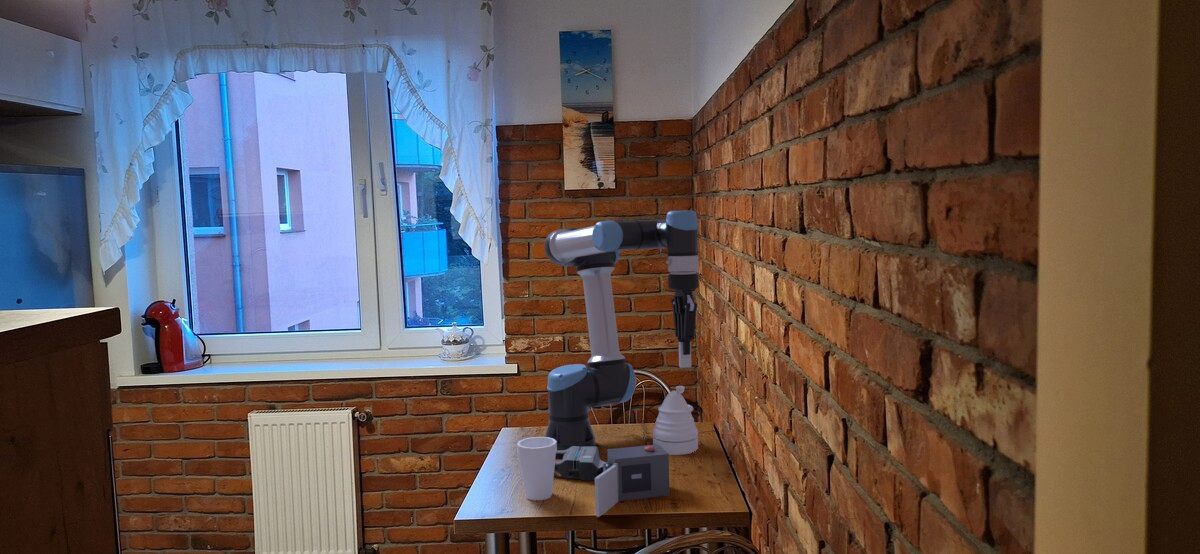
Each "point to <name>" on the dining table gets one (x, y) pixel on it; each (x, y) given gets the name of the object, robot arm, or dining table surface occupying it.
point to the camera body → (640, 471)
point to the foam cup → (537, 466)
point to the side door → (606, 489)
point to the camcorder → (579, 462)
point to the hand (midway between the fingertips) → (685, 366)
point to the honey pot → (675, 425)
